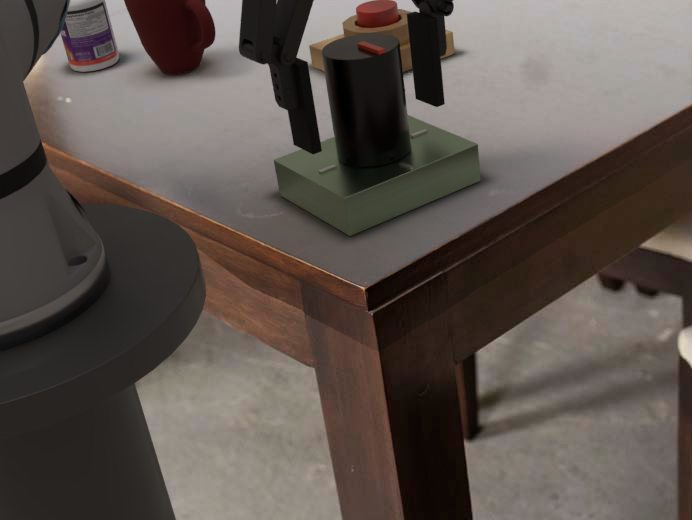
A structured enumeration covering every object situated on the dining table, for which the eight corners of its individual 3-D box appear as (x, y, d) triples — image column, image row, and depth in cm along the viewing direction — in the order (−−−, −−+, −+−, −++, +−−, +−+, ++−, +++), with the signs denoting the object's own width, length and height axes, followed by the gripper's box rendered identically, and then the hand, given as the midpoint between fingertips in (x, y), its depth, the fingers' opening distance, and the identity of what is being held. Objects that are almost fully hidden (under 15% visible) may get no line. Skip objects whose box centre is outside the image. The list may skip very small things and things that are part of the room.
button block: (362, 87, 103) (356, 45, 101) (312, 67, 110) (305, 26, 108) (454, 54, 108) (451, 12, 106) (401, 36, 114) (397, -3, 112)
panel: (349, 236, 79) (343, 196, 77) (279, 195, 86) (272, 157, 84) (480, 180, 84) (478, 141, 82) (404, 146, 91) (400, 109, 89)
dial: (323, 153, 84) (306, 45, 79) (383, 130, 86) (369, 23, 82) (364, 173, 80) (348, 61, 75) (426, 149, 82) (414, 38, 78)
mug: (253, 61, 114) (234, -40, 108) (199, 89, 109) (176, -15, 103) (180, 51, 119) (159, -45, 114) (126, 77, 114) (100, -22, 108)
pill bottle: (74, 59, 121) (48, -32, 116) (122, 52, 121) (99, -39, 116) (67, 75, 117) (40, -18, 111) (117, 68, 117) (92, -26, 112)
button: (373, 33, 105) (370, 15, 104) (350, 25, 108) (347, 7, 106) (407, 22, 106) (405, 3, 105) (383, 14, 109) (381, -4, 108)
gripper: (191, -171, 62) (262, 190, 74) (505, -242, 71) (521, 89, 84) (136, -178, 67) (211, 160, 80) (435, -243, 77) (460, 68, 89)
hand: (370, 124), depth 82 cm, fingers open, 10 cm apart
